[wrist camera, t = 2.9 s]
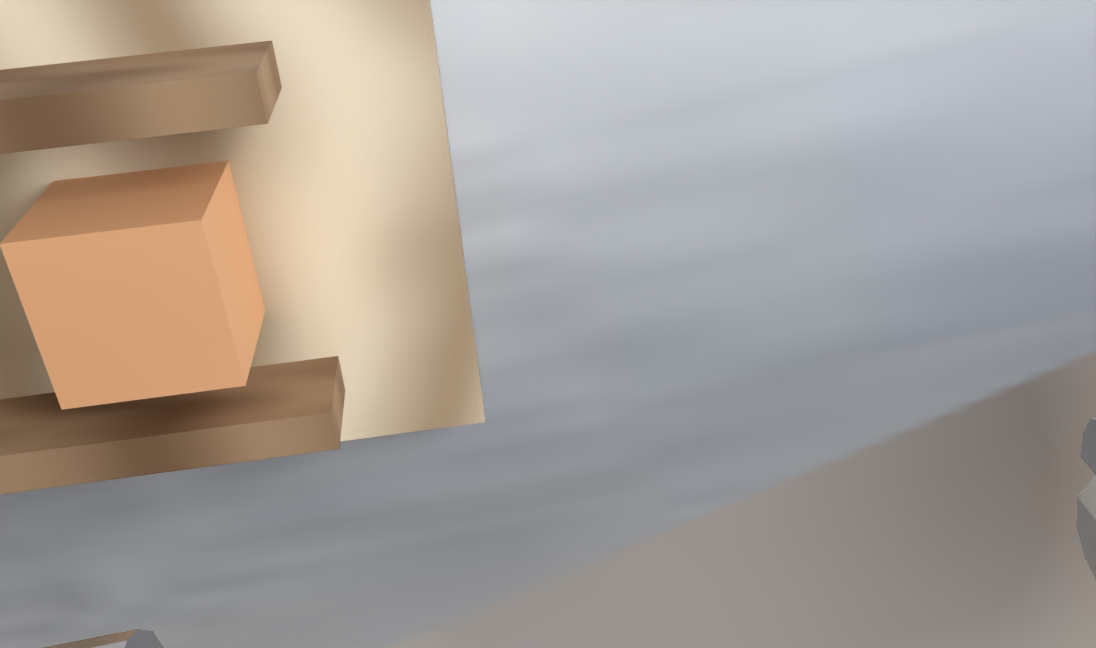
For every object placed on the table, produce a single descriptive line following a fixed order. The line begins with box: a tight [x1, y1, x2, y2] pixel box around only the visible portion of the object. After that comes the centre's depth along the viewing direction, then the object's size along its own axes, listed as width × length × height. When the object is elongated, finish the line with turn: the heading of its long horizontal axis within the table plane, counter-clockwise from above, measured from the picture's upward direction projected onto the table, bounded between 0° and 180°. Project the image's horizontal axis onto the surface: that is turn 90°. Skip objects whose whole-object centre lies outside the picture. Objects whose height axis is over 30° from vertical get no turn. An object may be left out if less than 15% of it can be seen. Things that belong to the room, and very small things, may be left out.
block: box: [0, 161, 265, 410], centre depth 26 cm, size 4×4×4 cm
